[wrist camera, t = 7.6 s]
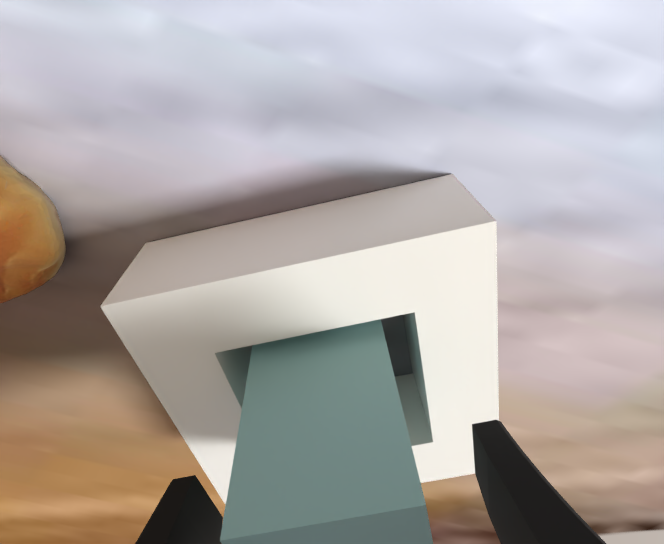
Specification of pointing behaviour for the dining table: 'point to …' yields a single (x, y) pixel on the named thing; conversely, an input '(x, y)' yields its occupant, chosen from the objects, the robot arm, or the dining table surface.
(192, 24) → the dining table surface
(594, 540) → the robot arm
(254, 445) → the post
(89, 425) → the dining table surface
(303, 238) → the well
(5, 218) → the pastry
